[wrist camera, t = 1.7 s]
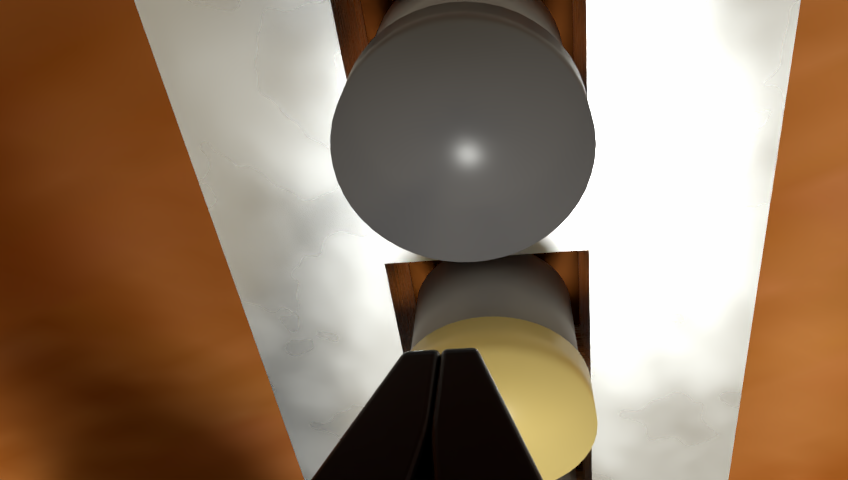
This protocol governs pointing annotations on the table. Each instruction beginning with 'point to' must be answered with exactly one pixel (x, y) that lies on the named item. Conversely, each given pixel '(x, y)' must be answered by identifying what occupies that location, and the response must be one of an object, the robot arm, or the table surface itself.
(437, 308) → the button mustard
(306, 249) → the console panel
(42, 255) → the table surface
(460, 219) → the button black
